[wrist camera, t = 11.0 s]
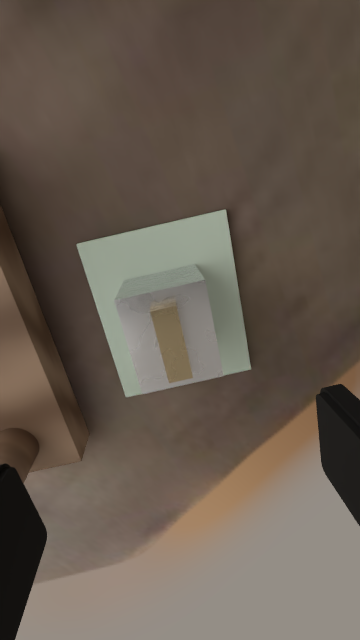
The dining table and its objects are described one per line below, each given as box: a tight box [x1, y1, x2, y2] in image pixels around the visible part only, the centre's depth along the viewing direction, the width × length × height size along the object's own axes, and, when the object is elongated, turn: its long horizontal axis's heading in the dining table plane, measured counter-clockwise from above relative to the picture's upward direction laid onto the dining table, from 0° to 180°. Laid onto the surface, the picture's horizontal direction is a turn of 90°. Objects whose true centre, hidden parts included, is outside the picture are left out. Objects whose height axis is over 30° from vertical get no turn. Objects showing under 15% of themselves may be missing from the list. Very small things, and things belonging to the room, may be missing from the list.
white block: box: [114, 264, 224, 394], centre depth 20 cm, size 6×5×6 cm
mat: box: [76, 210, 251, 397], centre depth 23 cm, size 12×10×1 cm
